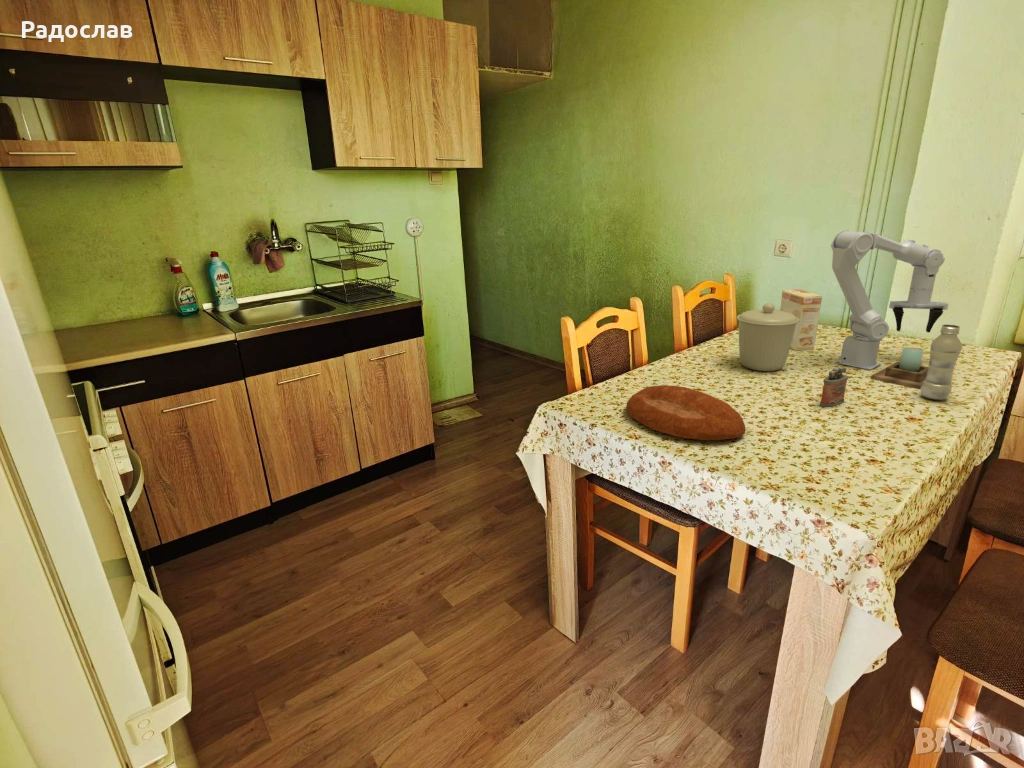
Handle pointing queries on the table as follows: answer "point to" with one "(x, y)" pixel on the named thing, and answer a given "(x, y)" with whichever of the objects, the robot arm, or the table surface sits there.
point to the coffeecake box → (802, 316)
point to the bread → (685, 413)
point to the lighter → (834, 388)
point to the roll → (911, 359)
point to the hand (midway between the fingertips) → (912, 331)
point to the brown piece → (901, 376)
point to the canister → (765, 337)
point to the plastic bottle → (942, 363)
